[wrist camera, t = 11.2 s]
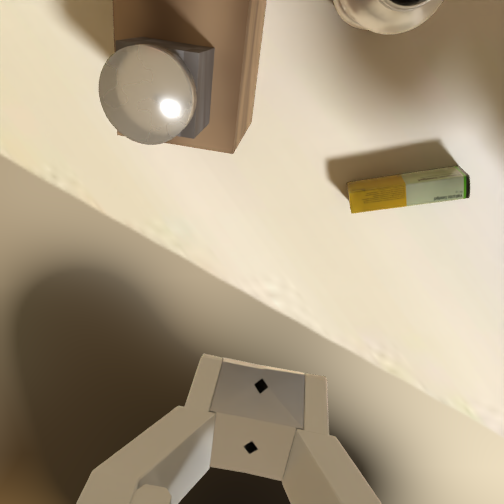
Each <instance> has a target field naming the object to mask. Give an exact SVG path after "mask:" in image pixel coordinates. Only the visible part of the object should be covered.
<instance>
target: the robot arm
mask: <svg viewBox="0 0 504 504" xmlns="http://www.w3.org/2000/svg"><path fill="white" fill-rule="evenodd" d="M209 467H215V468H221V469H227V470H233V471H238V472H244V473H249V474H253V475H258V476H262V477H267V478H271V479H275V480H280V481H282V484H283V486H284V489H285V491H286V493H287V496H288V498H289V500H290V503H291V504H382V503H381V502H380V500H379V499H378V498H377V496H376V495H375V493H374V492H373V490H372V489H371V487H370V486H369V484H368V483H367V482H366V480H365V479H364V477H363V476H362V474H361V473H360V471H359V470H358V468H357V467H356V466H355V464H354V463H353V461H352V460H351V458H350V457H349V455H348V454H347V453H346V451H345V450H344V448H343V447H342V445H341V444H340V443H339V441H338V440H337V438H336V437H335V436H331V435H329V423H328V395H327V379H326V377H325V376H320V375H314V374H309V373H303V372H297V371H291V370H285V369H279V368H274V367H268V366H262V365H257V364H252V363H248V362H243V361H238V360H234V359H229V358H222V357H217V356H213V355H208V354H203V355H202V357H201V359H200V362H199V365H198V368H197V371H196V374H195V377H194V380H193V383H192V386H191V389H190V392H189V395H188V398H187V401H186V404H185V407H182V406H178V407H176V408H175V409H173V410H172V411H171V412H169V413H168V414H167V415H165V416H164V417H163V418H162V419H160V420H159V421H158V422H156V423H155V424H154V425H152V426H151V427H150V428H148V429H147V430H146V431H144V432H143V433H142V434H140V435H139V436H138V437H137V438H135V439H134V440H132V441H131V442H130V443H128V444H127V445H126V446H125V447H123V448H122V449H121V450H119V451H118V452H116V453H115V454H114V455H112V456H111V457H110V458H109V459H107V460H106V461H105V462H103V463H102V464H101V465H99V466H98V467H97V468H95V469H94V470H93V471H92V473H91V475H90V477H89V479H88V481H87V483H86V485H85V487H84V489H83V491H82V493H81V495H80V497H79V499H78V501H77V503H76V504H178V502H179V501H180V500H181V499H182V498H183V497H184V496H185V495H186V493H188V491H189V490H190V489H191V488H192V487H193V486H194V485H195V484H196V483H197V482H198V481H199V479H200V478H201V477H202V476H203V475H204V474H205V473H206V472H207V471H208V470H209Z"/></svg>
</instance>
